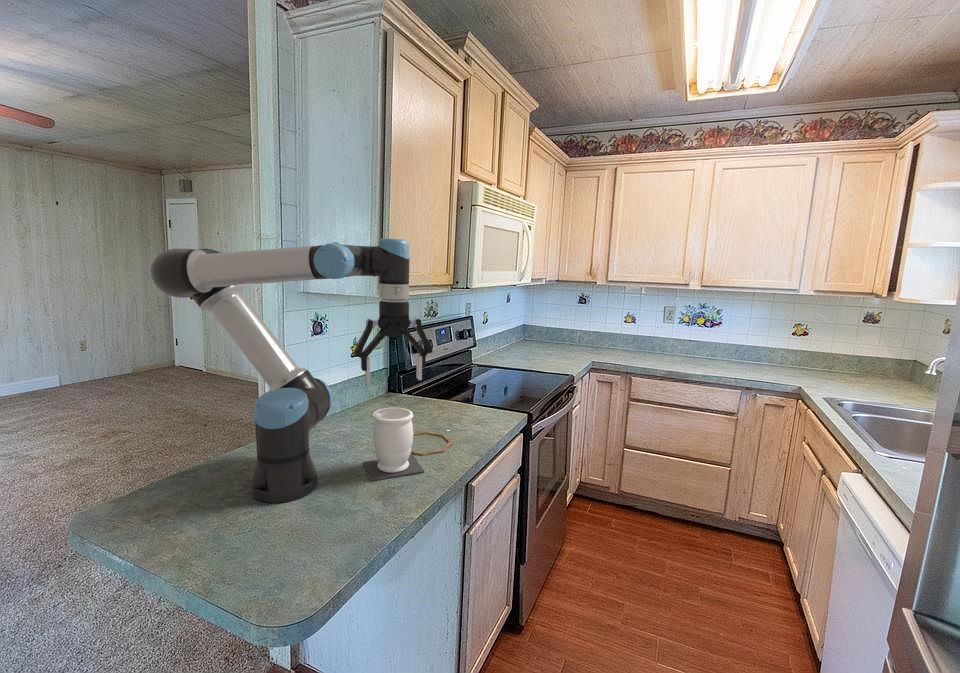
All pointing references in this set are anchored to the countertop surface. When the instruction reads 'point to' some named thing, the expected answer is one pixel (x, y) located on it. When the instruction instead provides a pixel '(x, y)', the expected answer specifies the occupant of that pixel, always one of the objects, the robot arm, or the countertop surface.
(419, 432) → the cork ring
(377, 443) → the jar
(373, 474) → the mat
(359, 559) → the countertop surface
